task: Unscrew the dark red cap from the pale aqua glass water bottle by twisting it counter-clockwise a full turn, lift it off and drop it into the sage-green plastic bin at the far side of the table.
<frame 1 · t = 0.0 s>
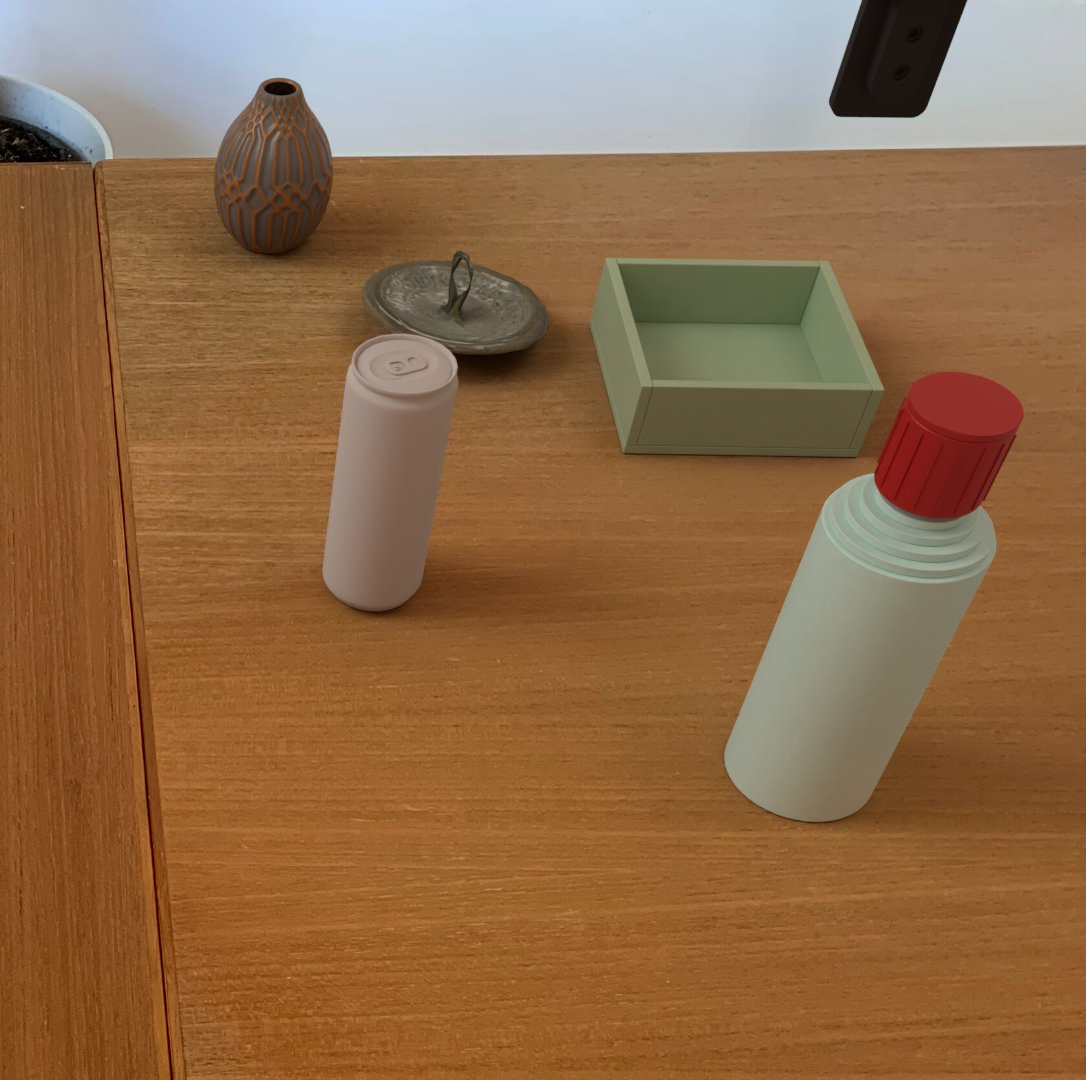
hand: (840, 48, 61), 26 cm above the table, tool pointing down, fingers open, 9 cm apart
bottle: (797, 769, 74), on the table
vase: (268, 239, 102), on the table
beverage can: (370, 587, 82), on the table
cap: (962, 410, 60), point 18 cm above the table, screwed on, not yet turned
lid: (450, 335, 95), on the table
bin: (717, 387, 92), on the table
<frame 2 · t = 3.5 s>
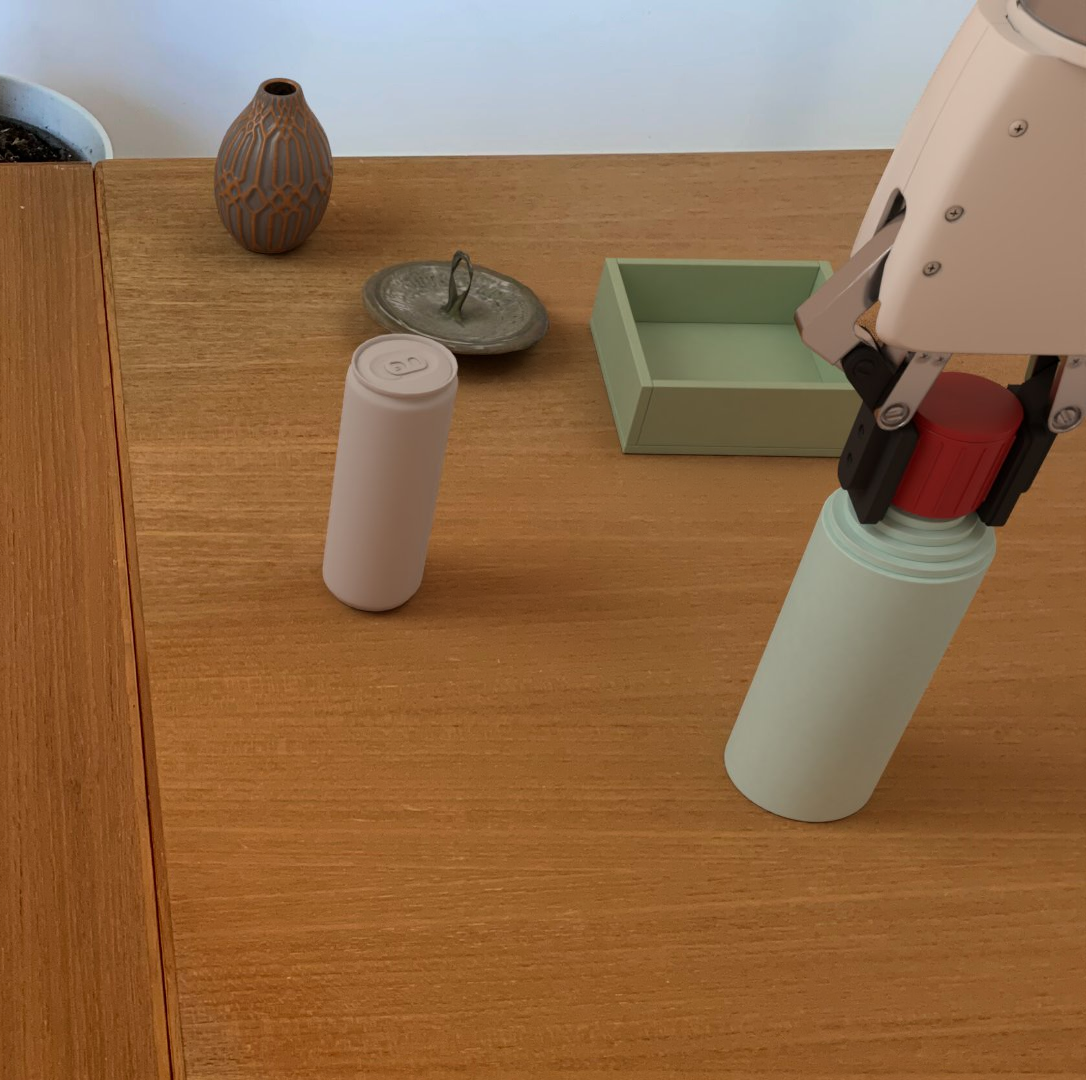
hand: (922, 498, 63), 14 cm above the table, tool pointing down, fingers closed on cap, 3 cm apart
bottle: (797, 769, 74), on the table, touching gripper
cap: (962, 410, 60), point 18 cm above the table, screwed on, not yet turned, touching gripper
everything else where it was.
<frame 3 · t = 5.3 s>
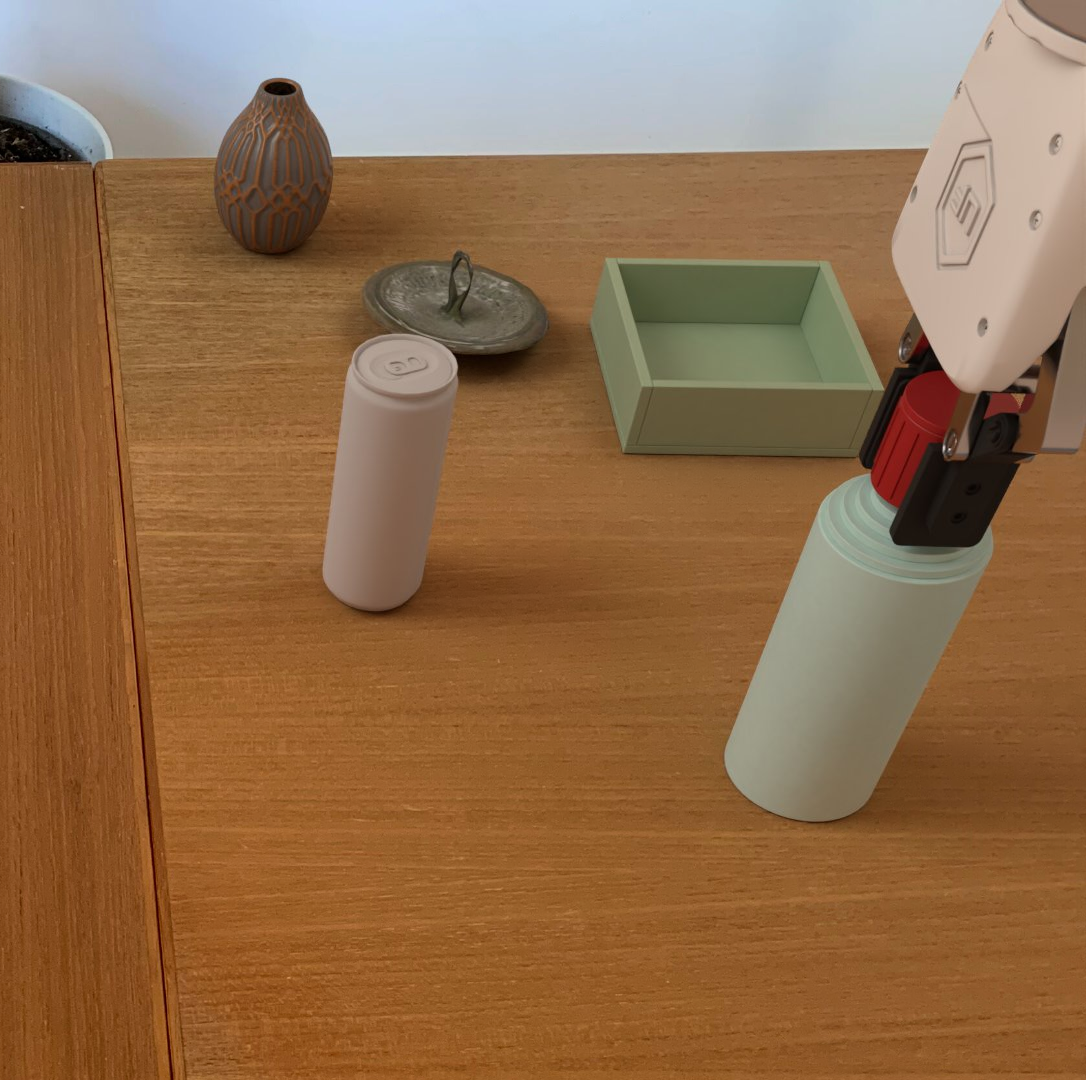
hand: (917, 498, 63), 14 cm above the table, tool pointing down, fingers closed on cap, 3 cm apart
cap: (958, 409, 60), point 18 cm above the table, turned 90° so far, risen 0.1 cm, still on its thread, touching gripper
everything else where it was.
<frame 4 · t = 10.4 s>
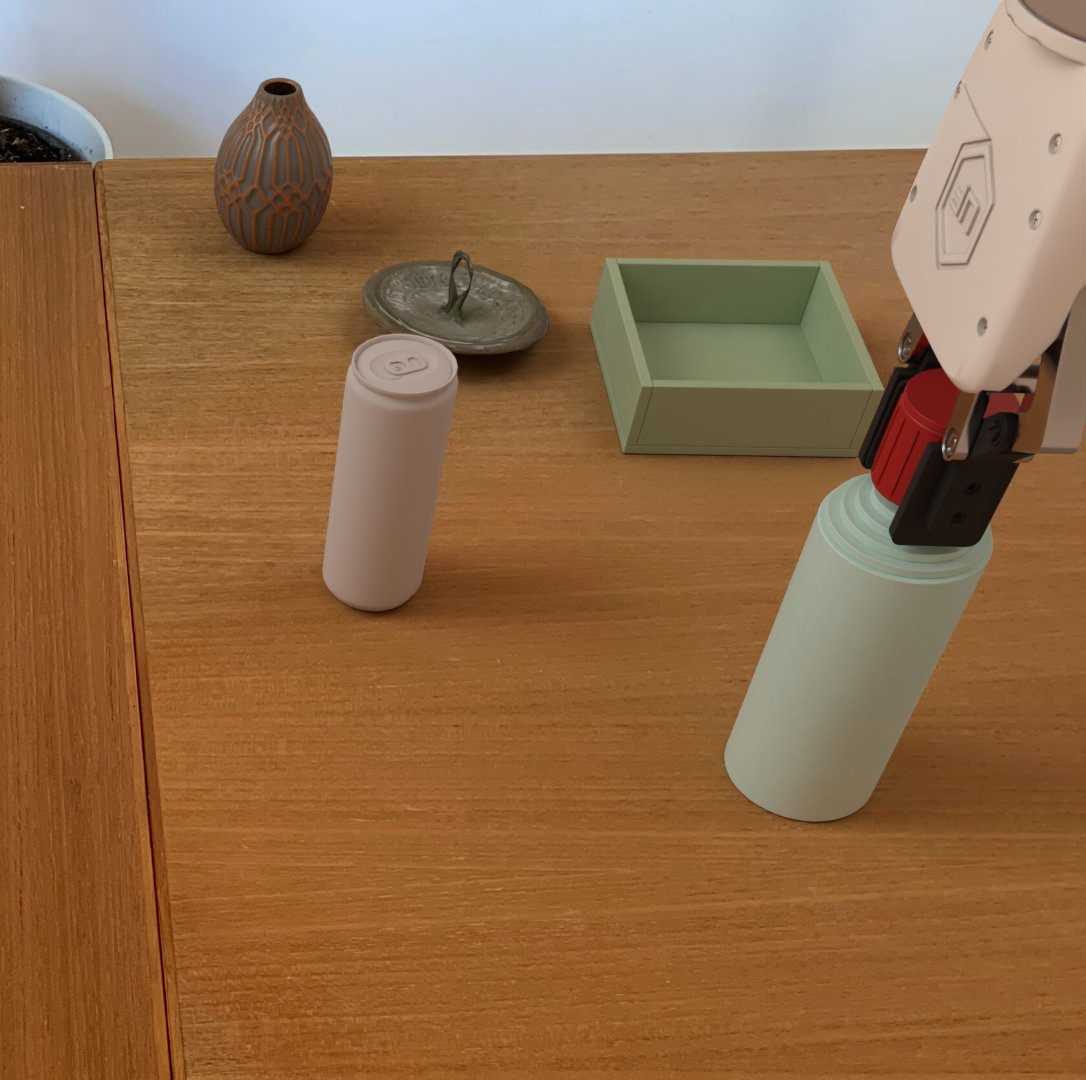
hand: (916, 498, 63), 14 cm above the table, tool pointing down, fingers closed on cap, 3 cm apart
cap: (959, 406, 60), point 18 cm above the table, turned 180° so far, risen 0.2 cm, still on its thread, touching gripper
everything else where it was.
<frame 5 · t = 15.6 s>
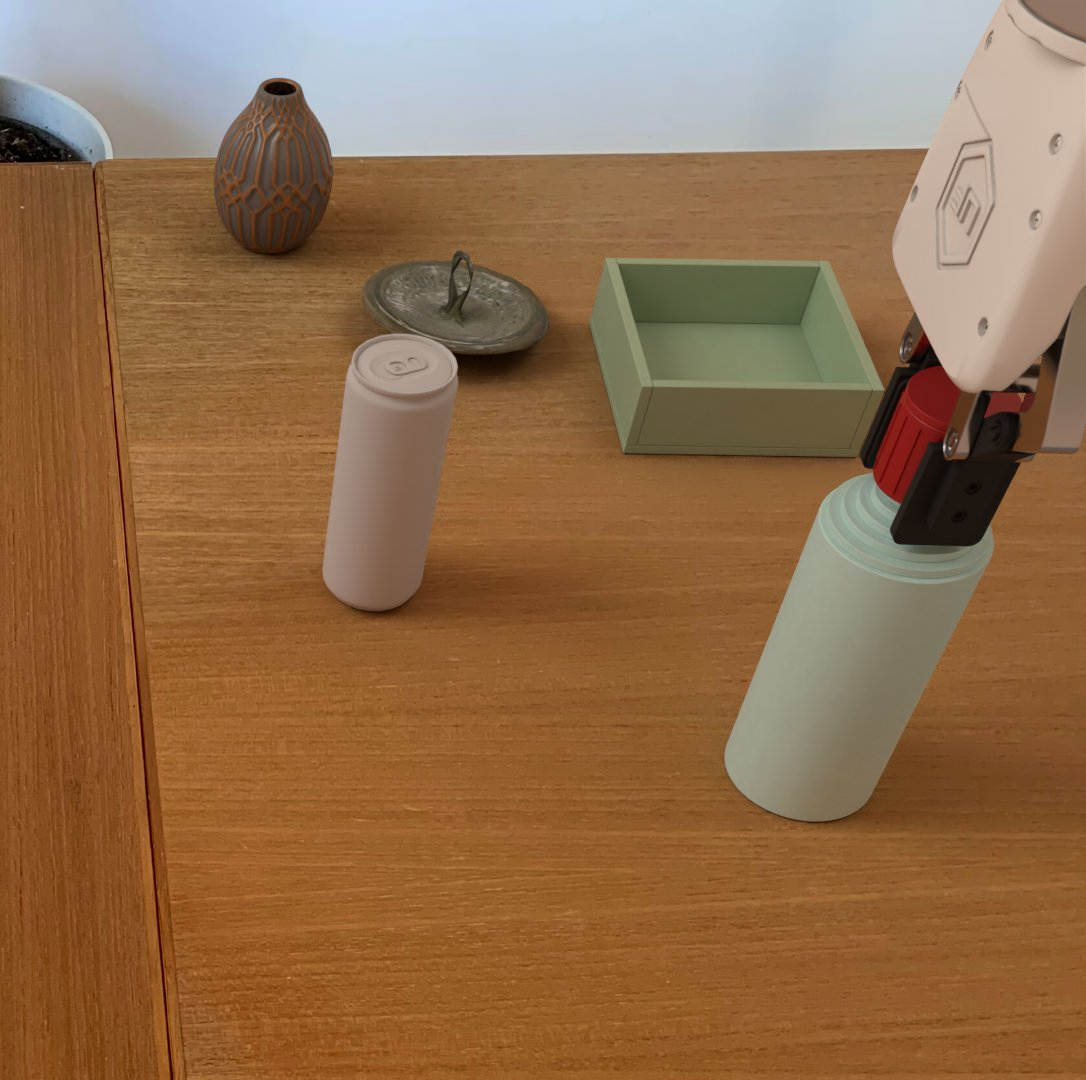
hand: (917, 498, 63), 14 cm above the table, tool pointing down, fingers closed on cap, 3 cm apart
bottle: (798, 768, 74), on the table
cap: (961, 404, 60), point 18 cm above the table, turned 270° so far, risen 0.3 cm, still on its thread, touching gripper
everything else where it was.
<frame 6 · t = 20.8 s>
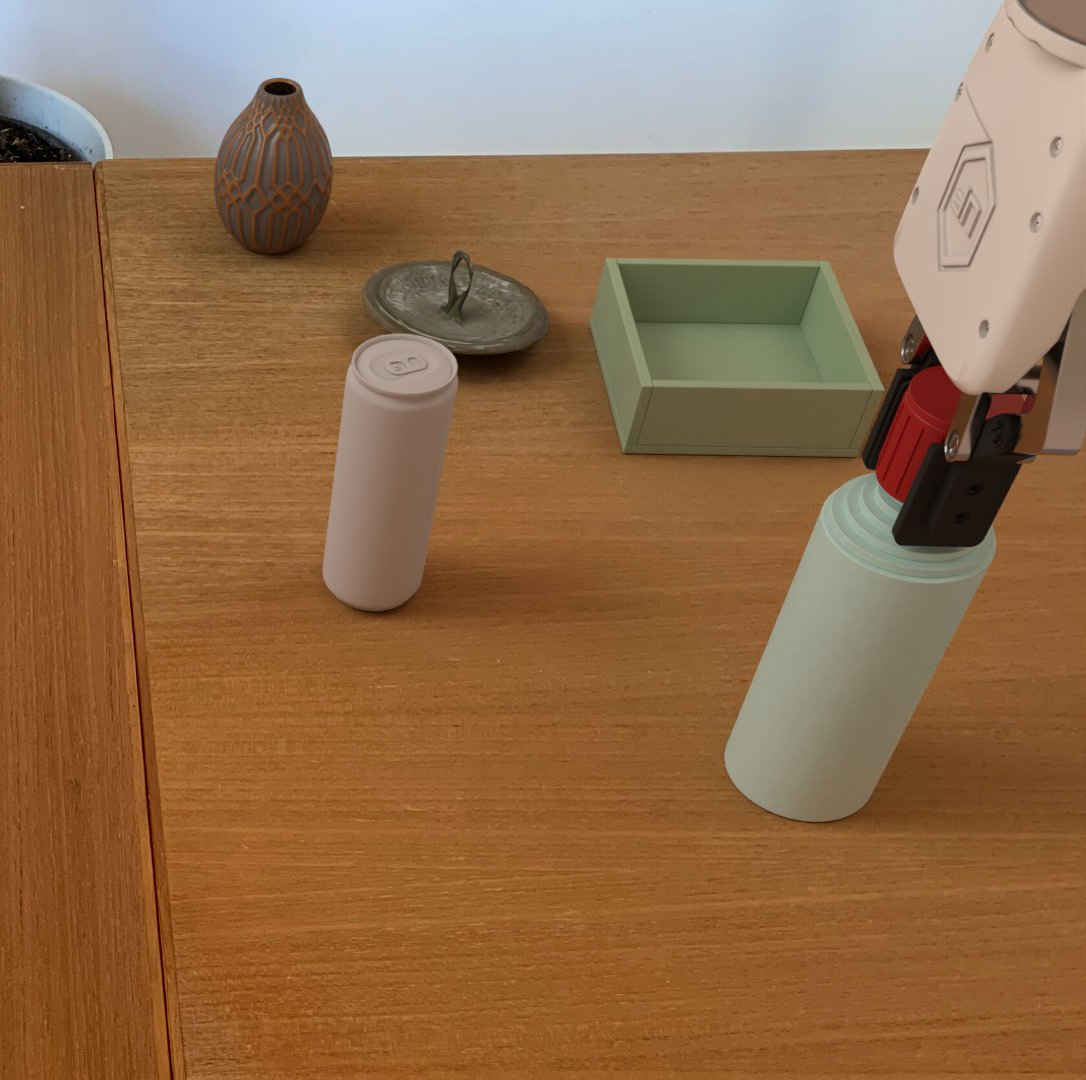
hand: (919, 499, 63), 14 cm above the table, tool pointing down, fingers closed on cap, 3 cm apart
bottle: (797, 769, 74), on the table, touching gripper
cap: (963, 403, 60), point 18 cm above the table, off its thread, touching gripper
everything else where it was.
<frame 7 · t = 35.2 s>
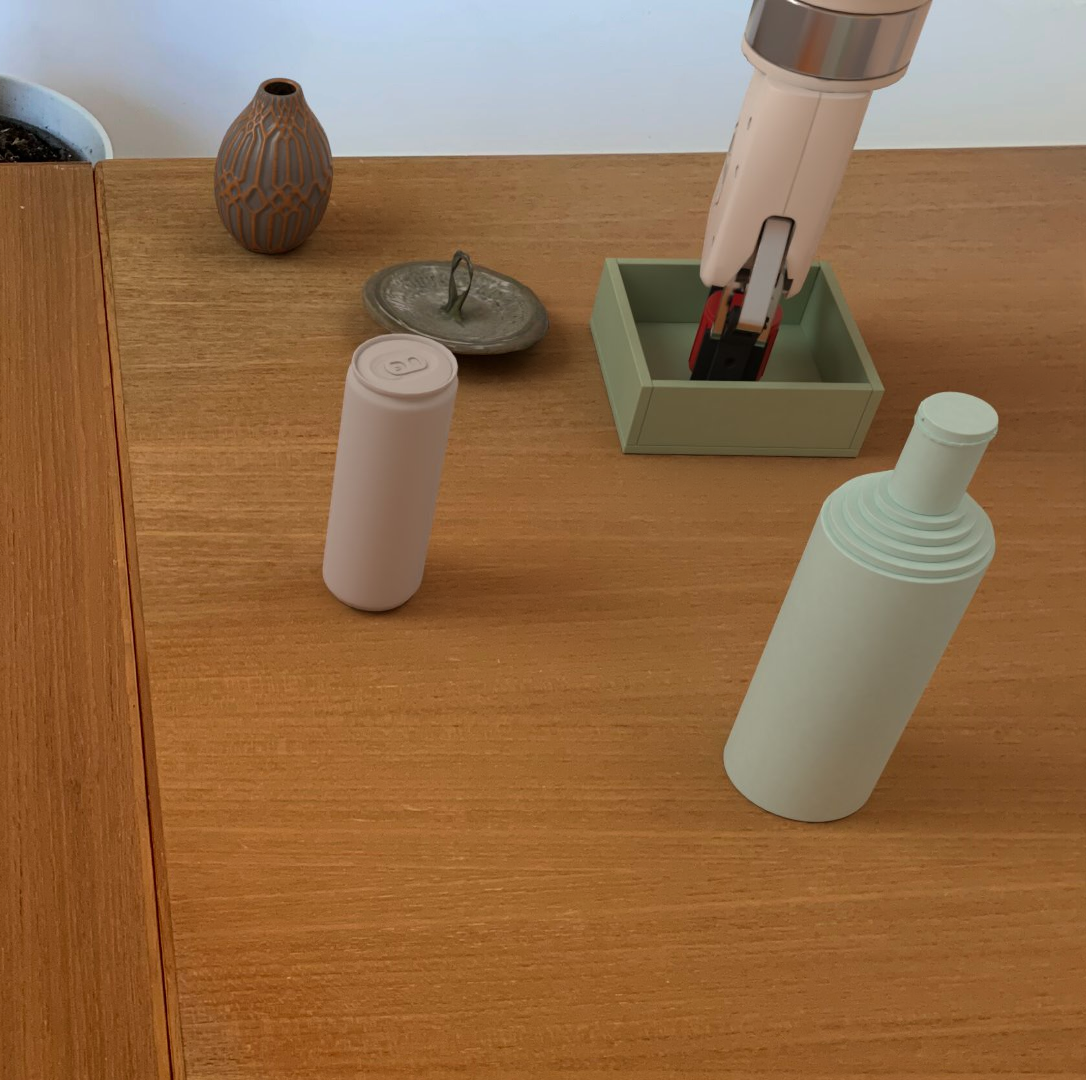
hand: (719, 376, 91), 1 cm above the table, tool pointing down, fingers closed on cap, 3 cm apart
bottle: (797, 769, 74), on the table
cap: (743, 313, 88), point 4 cm above the table, off its thread, touching gripper
everything else where it was.
when the fingers open (3 cm above the table, at t = 44.2 s): cap drops 3 cm, resting on bin.
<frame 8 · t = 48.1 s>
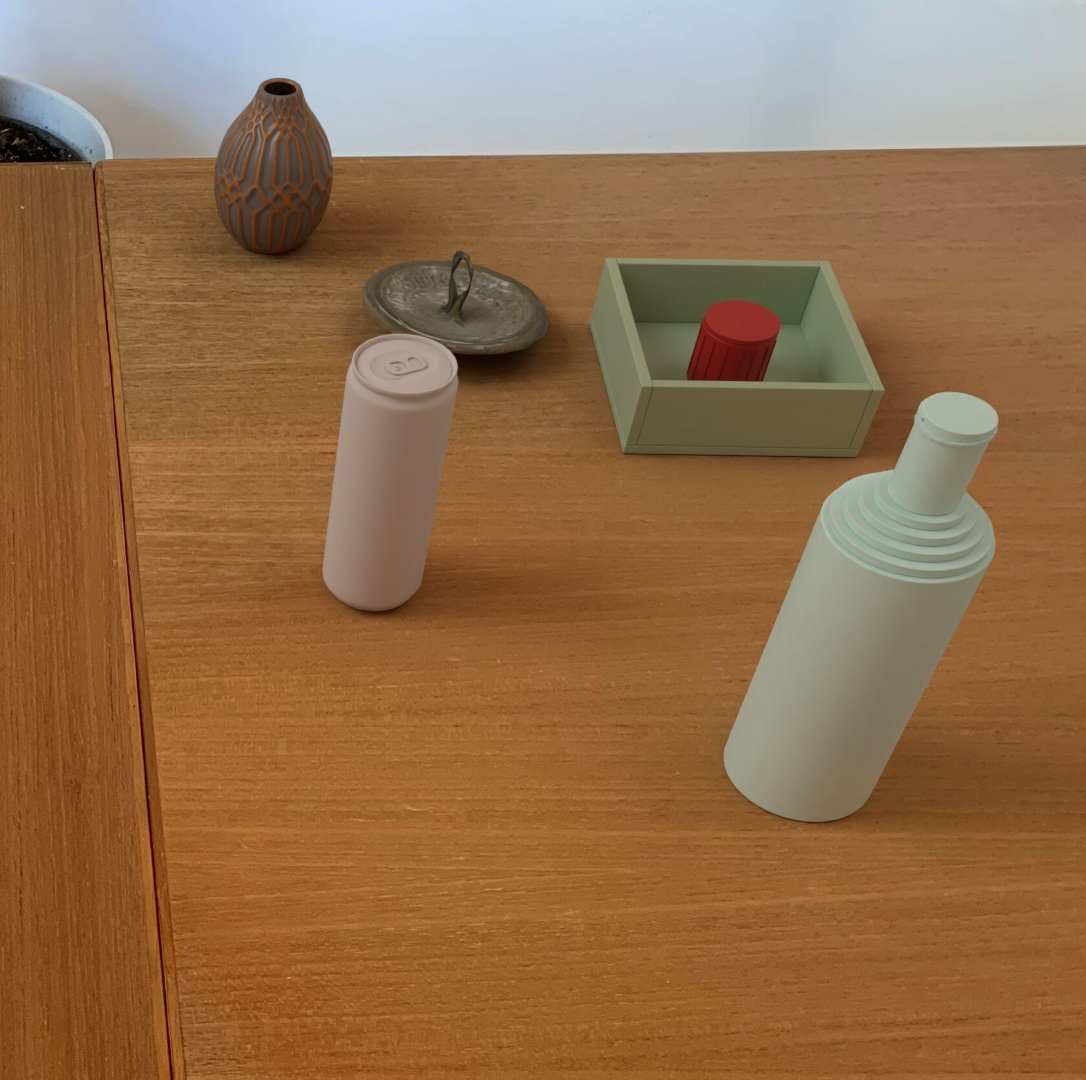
cap: (740, 325, 89), point 4 cm above the table, off its thread, touching bin
everything else where it was.
at the end: cap came off its thread; cap inside the target area in the bin (0.1 cm from its centre), point 3.7 cm above the bin's base; the gripper is holding nothing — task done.
